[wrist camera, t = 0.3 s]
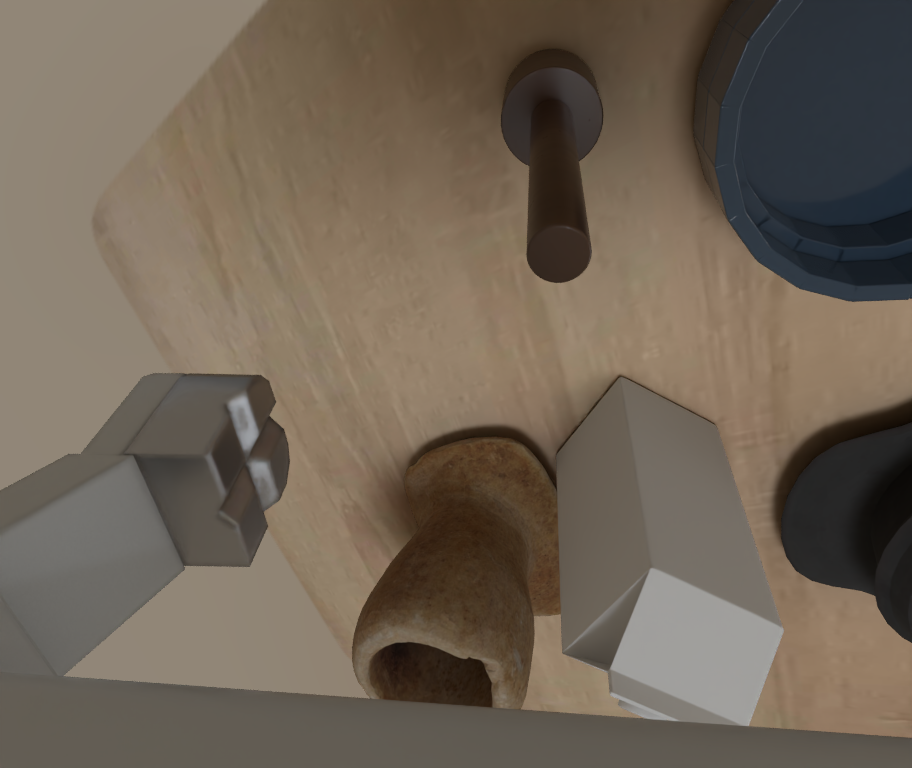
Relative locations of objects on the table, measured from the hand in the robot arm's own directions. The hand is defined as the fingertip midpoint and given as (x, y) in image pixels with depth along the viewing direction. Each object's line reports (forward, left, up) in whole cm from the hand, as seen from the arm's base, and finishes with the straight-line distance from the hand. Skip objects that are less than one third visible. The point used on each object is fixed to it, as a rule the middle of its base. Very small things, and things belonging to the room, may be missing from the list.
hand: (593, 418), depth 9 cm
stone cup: (+28, +14, -30) cm, 43 cm away
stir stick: (+3, +2, -30) cm, 30 cm away
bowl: (-5, +14, -30) cm, 33 cm away
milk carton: (+17, +18, -30) cm, 39 cm away
